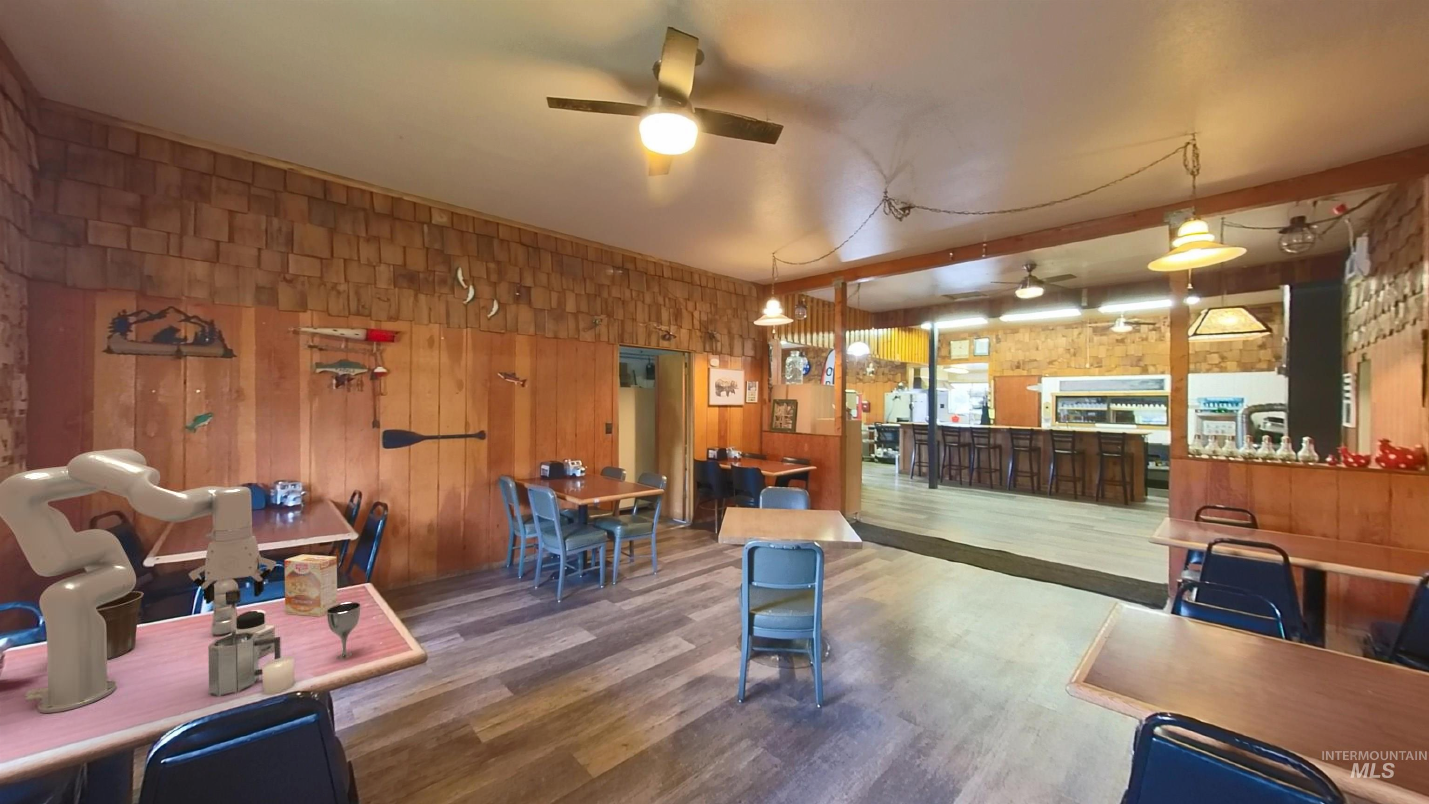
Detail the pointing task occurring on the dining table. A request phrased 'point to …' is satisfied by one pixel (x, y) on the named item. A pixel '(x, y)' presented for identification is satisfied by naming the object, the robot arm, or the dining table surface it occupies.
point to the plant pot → (121, 623)
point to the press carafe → (236, 663)
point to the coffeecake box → (310, 584)
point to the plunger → (233, 609)
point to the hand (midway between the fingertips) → (234, 598)
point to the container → (257, 628)
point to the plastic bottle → (222, 607)
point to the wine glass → (343, 622)
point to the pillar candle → (278, 675)
